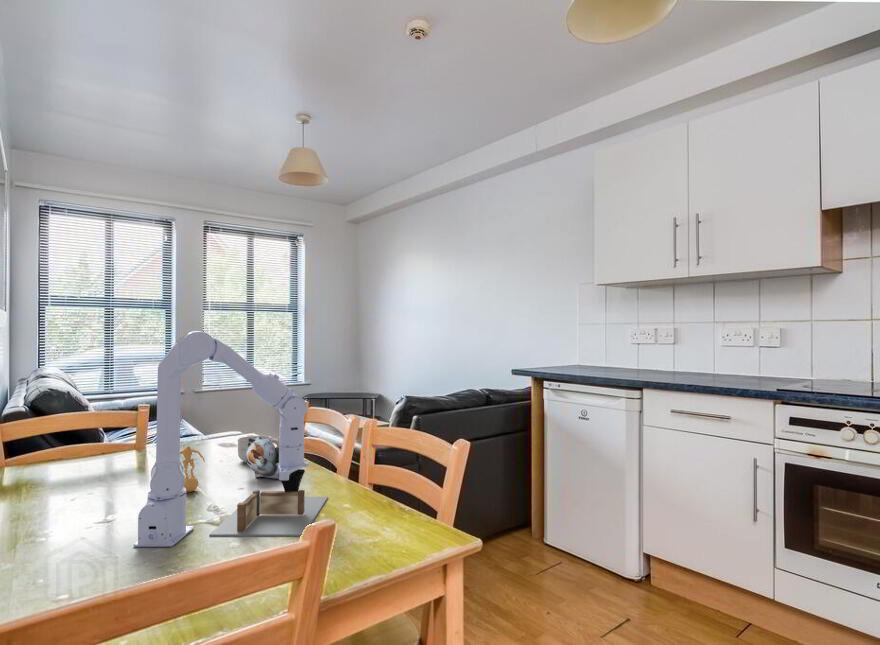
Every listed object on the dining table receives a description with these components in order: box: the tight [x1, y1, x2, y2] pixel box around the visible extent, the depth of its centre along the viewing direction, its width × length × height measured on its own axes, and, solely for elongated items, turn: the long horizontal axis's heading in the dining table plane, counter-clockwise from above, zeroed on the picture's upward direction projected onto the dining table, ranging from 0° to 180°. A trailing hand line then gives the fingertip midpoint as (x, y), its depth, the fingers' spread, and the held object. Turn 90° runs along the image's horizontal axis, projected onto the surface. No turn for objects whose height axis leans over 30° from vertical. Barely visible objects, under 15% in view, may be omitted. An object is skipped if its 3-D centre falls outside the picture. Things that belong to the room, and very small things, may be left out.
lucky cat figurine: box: [246, 437, 280, 480], centre depth 150 cm, size 15×12×14 cm
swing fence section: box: [260, 489, 306, 514], centre depth 118 cm, size 10×1×5 cm, turn 91°
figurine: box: [180, 445, 206, 493], centre depth 137 cm, size 8×6×12 cm
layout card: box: [208, 496, 329, 537], centre depth 119 cm, size 24×20×1 cm
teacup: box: [237, 434, 279, 464], centre depth 167 cm, size 14×11×8 cm
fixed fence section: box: [236, 489, 261, 532], centre depth 114 cm, size 10×2×6 cm, turn 0°
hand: (291, 501), depth 120 cm, fingers closed
